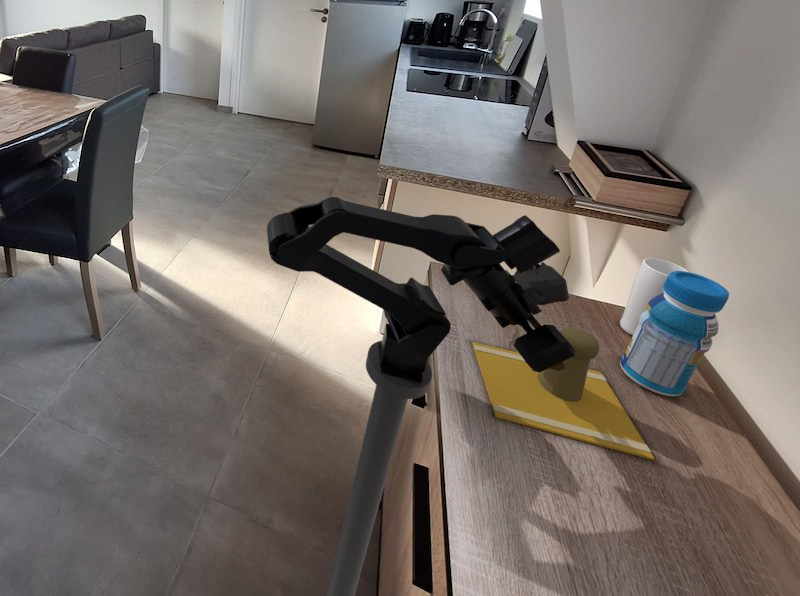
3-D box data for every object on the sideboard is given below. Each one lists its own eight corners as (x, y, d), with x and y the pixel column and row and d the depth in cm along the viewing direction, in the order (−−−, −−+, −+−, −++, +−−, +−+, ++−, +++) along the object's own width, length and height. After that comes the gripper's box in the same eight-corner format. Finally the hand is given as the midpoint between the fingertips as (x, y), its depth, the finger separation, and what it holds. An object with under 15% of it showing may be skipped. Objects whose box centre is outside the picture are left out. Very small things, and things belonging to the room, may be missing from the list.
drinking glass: (649, 349, 85) (682, 283, 79) (606, 324, 90) (635, 261, 85) (667, 338, 87) (700, 274, 82) (624, 315, 93) (653, 254, 88)
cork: (556, 368, 79) (577, 318, 75) (591, 397, 74) (616, 345, 70) (528, 374, 78) (548, 323, 74) (562, 405, 72) (586, 352, 68)
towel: (495, 417, 70) (496, 414, 70) (472, 343, 84) (472, 341, 84) (653, 460, 64) (655, 458, 64) (600, 373, 79) (601, 371, 79)
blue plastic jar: (631, 389, 76) (680, 292, 69) (609, 352, 83) (651, 261, 76) (695, 406, 73) (754, 307, 66) (666, 367, 81) (716, 274, 74)
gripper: (584, 296, 59) (641, 369, 62) (506, 223, 76) (553, 283, 79) (504, 338, 62) (562, 405, 65) (447, 258, 79) (494, 314, 83)
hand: (542, 345), depth 73 cm, fingers open, 9 cm apart
